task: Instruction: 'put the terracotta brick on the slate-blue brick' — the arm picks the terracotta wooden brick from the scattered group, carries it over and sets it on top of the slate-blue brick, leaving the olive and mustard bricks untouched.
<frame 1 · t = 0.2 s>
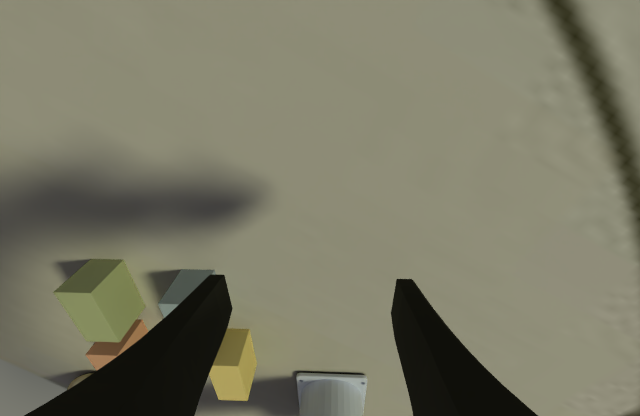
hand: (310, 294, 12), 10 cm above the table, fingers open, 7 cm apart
olive brick: (120, 283, 27), on the table
terracotta brick: (138, 336, 31), on the table
mustard brick: (239, 345, 31), on the table
slate brick: (205, 292, 27), on the table
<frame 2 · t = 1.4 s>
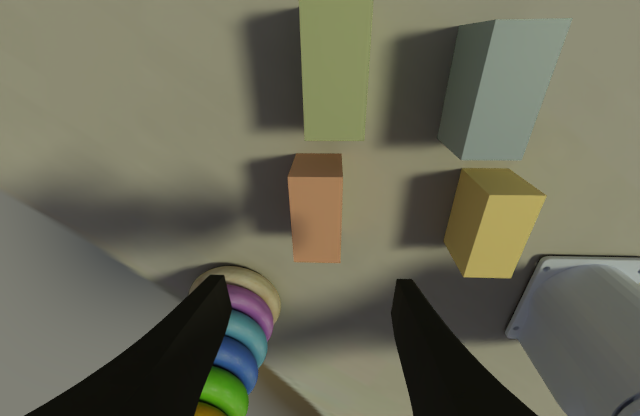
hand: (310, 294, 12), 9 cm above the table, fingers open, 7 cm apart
olive brick: (334, 69, 16), on the table
terracotta brick: (319, 193, 20), on the table
mustard brick: (472, 207, 20), on the table
stacking toy: (239, 293, 26), on the table
slate brick: (472, 86, 16), on the table
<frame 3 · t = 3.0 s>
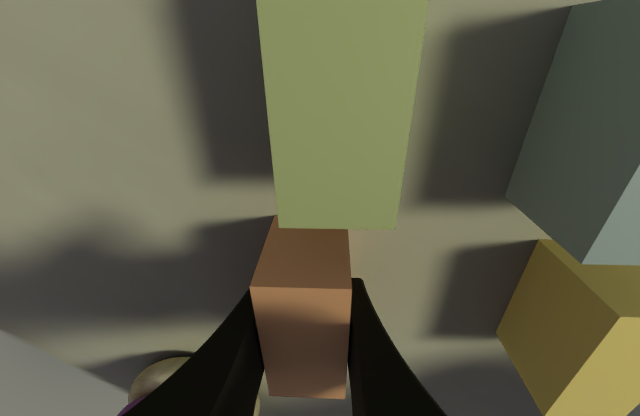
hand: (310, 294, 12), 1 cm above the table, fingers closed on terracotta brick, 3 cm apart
olive brick: (337, 84, 9), on the table
terracotta brick: (312, 270, 13), on the table, touching gripper
mustard brick: (546, 290, 13), on the table
stacking toy: (204, 383, 19), on the table
slate brick: (577, 115, 9), on the table
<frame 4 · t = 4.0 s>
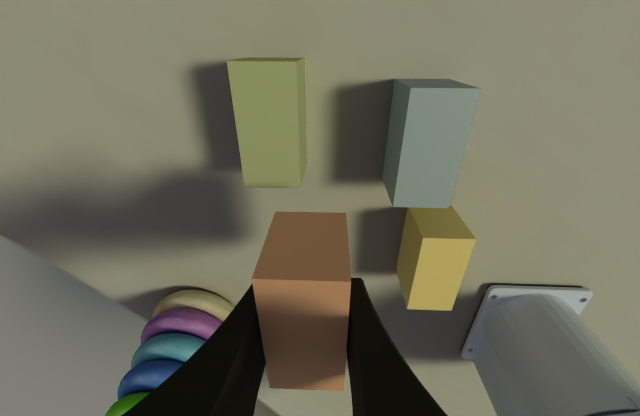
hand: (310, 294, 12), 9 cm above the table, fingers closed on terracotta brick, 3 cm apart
olive brick: (281, 114, 17), on the table
terracotta brick: (311, 266, 13), point 7 cm above the table, touching gripper
mustard brick: (421, 239, 21), on the table
stacking toy: (204, 313, 27), on the table
slate brick: (412, 132, 17), on the table
when the fingers open (7 cm above the table, at t = 5.1 s): terracotta brick stays where it is, resting on slate brick.
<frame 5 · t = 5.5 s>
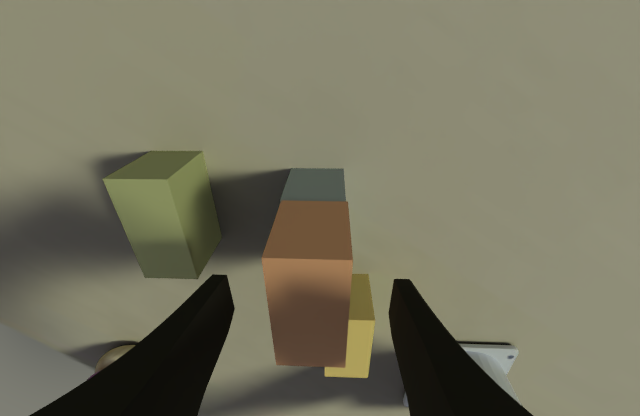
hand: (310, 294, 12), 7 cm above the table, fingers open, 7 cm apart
olive brick: (190, 196, 18), on the table
terracotta brick: (315, 253, 14), point 4 cm above the table, touching slate brick
mustard brick: (345, 302, 22), on the table
stacking toy: (150, 364, 27), on the table
slate brick: (318, 213, 18), on the table, touching terracotta brick
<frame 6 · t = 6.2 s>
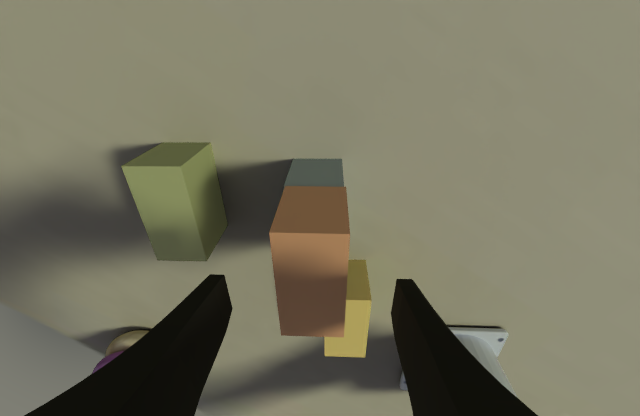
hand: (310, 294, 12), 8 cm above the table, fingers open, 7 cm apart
olive brick: (198, 186, 19), on the table
terracotta brick: (316, 235, 15), point 4 cm above the table, touching slate brick
mustard brick: (344, 287, 23), on the table
stacking toy: (157, 349, 28), on the table
slate brick: (318, 201, 19), on the table, touching terracotta brick
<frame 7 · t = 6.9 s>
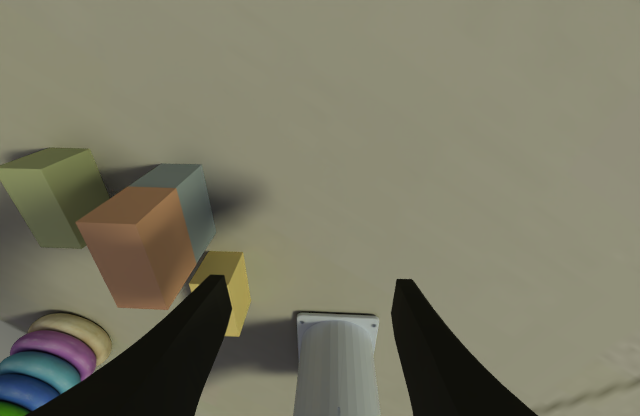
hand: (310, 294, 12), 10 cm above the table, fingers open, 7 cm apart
olive brick: (87, 185, 22), on the table
terracotta brick: (164, 228, 19), point 4 cm above the table, touching slate brick
mustard brick: (231, 276, 26), on the table
stacking toy: (79, 332, 31), on the table
slate brick: (190, 200, 22), on the table, touching terracotta brick
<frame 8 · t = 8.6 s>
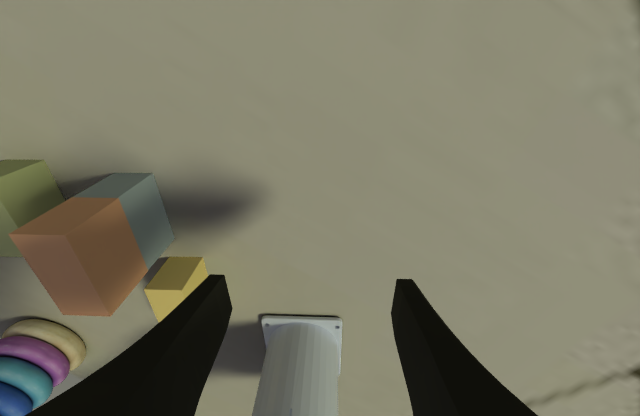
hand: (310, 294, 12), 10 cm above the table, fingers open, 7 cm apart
olive brick: (45, 195, 23), on the table
terracotta brick: (113, 236, 19), point 4 cm above the table, touching slate brick
mustard brick: (194, 281, 27), on the table
stacking toy: (54, 337, 32), on the table
slate brick: (146, 207, 23), on the table, touching terracotta brick
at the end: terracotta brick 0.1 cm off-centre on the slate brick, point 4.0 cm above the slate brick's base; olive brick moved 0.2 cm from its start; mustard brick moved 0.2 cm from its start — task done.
